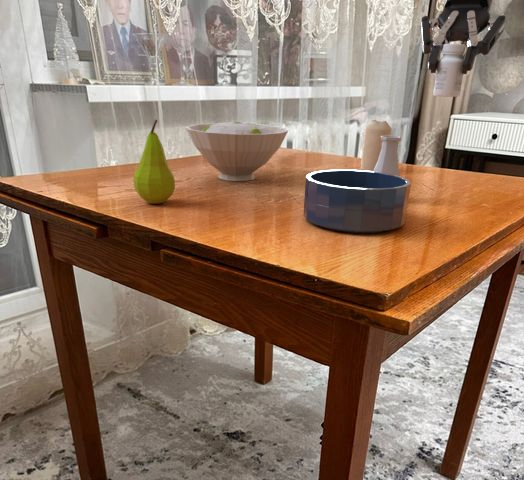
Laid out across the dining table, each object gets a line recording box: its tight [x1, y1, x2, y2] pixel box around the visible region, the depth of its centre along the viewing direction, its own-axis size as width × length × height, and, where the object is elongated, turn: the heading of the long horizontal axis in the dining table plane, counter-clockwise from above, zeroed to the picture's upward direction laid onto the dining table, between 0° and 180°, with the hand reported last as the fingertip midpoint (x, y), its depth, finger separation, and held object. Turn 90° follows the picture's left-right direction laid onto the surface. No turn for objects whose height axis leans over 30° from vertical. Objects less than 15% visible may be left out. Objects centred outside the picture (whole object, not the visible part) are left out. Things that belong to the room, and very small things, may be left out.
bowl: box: [185, 121, 289, 182], centre depth 103 cm, size 19×19×10 cm
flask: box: [373, 134, 402, 177], centre depth 89 cm, size 7×7×10 cm
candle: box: [360, 119, 392, 172], centre depth 115 cm, size 6×6×10 cm
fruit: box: [132, 119, 176, 205], centre depth 81 cm, size 6×6×12 cm
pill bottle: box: [432, 43, 466, 98], centre depth 91 cm, size 4×4×8 cm
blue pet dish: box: [302, 169, 412, 234], centre depth 76 cm, size 14×14×6 cm
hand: (448, 69), depth 89 cm, fingers closed on pill bottle, 4 cm apart
